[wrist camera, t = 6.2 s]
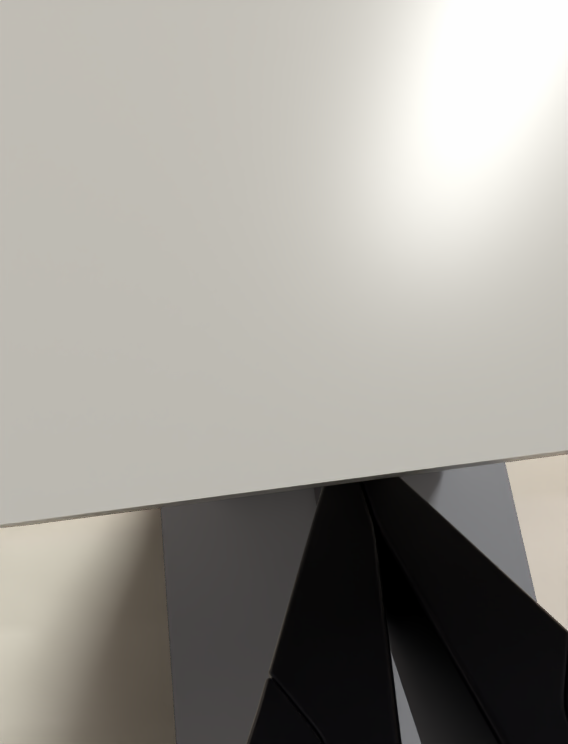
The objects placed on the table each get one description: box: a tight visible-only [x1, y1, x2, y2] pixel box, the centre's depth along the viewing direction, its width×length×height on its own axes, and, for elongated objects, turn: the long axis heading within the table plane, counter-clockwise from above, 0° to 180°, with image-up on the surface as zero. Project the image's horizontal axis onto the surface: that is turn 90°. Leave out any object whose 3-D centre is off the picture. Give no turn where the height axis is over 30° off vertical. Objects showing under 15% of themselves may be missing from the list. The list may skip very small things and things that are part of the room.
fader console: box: [161, 462, 537, 744], centre depth 13 cm, size 20×9×2 cm, turn 7°
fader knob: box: [0, 0, 568, 528], centre depth 9 cm, size 5×6×10 cm
